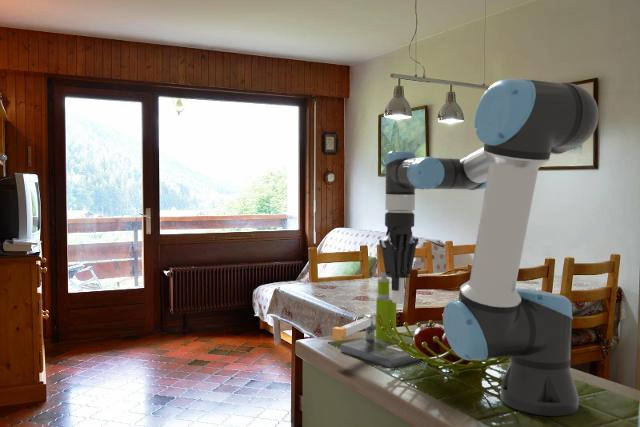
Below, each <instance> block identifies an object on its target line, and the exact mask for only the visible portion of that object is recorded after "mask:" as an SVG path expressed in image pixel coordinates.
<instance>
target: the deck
mask: <svg viewBox="0 0 640 427" xmlns="http://www.w3.org/2000/svg"><path fill="white" fill-rule="evenodd" d="M396 344H397V343H396ZM396 344H394V343H391V342H387V341H384V340H380V339H377V338H376V337H375V329H365V338H363V339H358V340H354V341H350V342H344V343H341V344H340V352H341V353H344V354H347V355H350V356H353V357H356V358H360V359H362V360H364V361H368V362H370V363H374V364H377V365H380V366H383V367H386V368H389V369H391V368H395V367H399V366H403V365H407V364H409V363H413V362H417V361H419V360H418V359H416V358H413V357H411V356H410V355H408V354H407V353H406V352H404V351H403V350H401V348H400V347H398V346H397V345H396Z"/></svg>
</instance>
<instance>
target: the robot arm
mask: <svg viewBox="0 0 640 427" xmlns="http://www.w3.org/2000/svg"><path fill="white" fill-rule="evenodd" d="M599 115H600V114H599V107H598V105H597V102H596V100H595V98H594V96H593V95H592V93H591V92H589V91H588V89H585V88H584V87H582V86H579V85H578V84H575V83H569V82H555V81H545V80H536V79H527V78H525V77H524V78H505V79H500V80H498V81H496V82H494V83H493V84H492V85H490V86H489V87H488V89H487V90H485V92H484V93H483V94H482V96H481V98H480V100H479V102H478V104H477V107H476V110H475V115H474V128H475V134H476V136H477V138H478V140H479V141H480V142H482V143H483V147H481V148H479V149H477V150H476V151H474V152H472V153H470V154H468V155H466V156H465V157H462V158H445V157H444V158H442V157H432V156H419V157H416V154H415V152H414V151H410V150H395V151H394V150H393V151H389V152H387V154H386V159H385V164H384V165H385V168H384V169H385V206H384V207H385V211H387V212H385V213H384V226H385V227H386V228H387V231H386V233H385V237H384V238H383V239H382V238H381V239H379V240H378V243H379V246H380V247H381V252H382V258H383V265H384V272H385V273H386V275H387V277H388V278H391V292H392V294H391V295H392V297H391V298H392V302H394V303H396V304H405V289H406V279H408V278H410V275H411V274H412V271H413V265H414V260H415V253H416V249H417V245H418V243H419V237H415V236H414V235H413V231H412V228H414V226H415V213H414V212H413V211H415V209H416V204H415V203H416V190H469V191H475V190H483V189H484V195H483V200H482V206H481V212H480V217H479V218H480V219H479V224H478V230H477V236H476V241H475V248H474V253H473V259H472V265H471V270H470V271H471V272H470V276H469V280H467V281H466V282H464V283H463V284H461V286H460V288H459V293H458V299H453V300H451V301H449V302H448V303H447V304H446V305H445V307H444V309H443V315H442V324H443V325H442V326H443V330H444V334H445V337H446V339H447V340H446V341H447V343H448V344H449V346H450V348H451V349H452V351H453V352H454V353H455V355H457V356H458V357H459V358H461V359H463V360H466V361H486V360H491V359H492V360H493V359H500V358H509V357H510V358H509V365H508V366H507V367H508V368H507V369H506V373H505V375H504V378H503V380H502V383H501V385H500V400H501V402H502V403H503V404H504V405H506V406H508V407H510V408H512V409H514V410H516V411H519V412H523V413H527V414H532V415H538V416H547V417H548V416H549V417H562V416H567V415H568V416H569V415H572V414H574V413H576V412H577V411H578V410H579V402H580V401H579V399H580V398H579V393H578V392H577V391H578V390H577V388H576V385H575V384H576V383H575V380H574V377H573V374H572V371H571V358H572V357H571V355H572V333H573V332H572V331H573V320H574V317H573V311H572V310H573V308H572V302H571V300H570V299H569V298H567V297H566V295H565V296H564V295H562V294H557V293H554V292H553V293H552V292H548V291H542V290H536V289H530V288H517V281H518V275H519V270H520V265H521V261H522V260H521V259H522V256H523V252H524V251H523V250H524V246H525V240H526V234H527V229H528V224H529V220H530V214H531V209H532V203H533V198H534V194H535V193H534V192H535V188H536V182H537V177H538V171H539V169H540V167H542V166H543V165H544V164H546V163H547V162H549V161H550V157H551V154H553V155H561V154H563V153H566V152H568V151H570V150H573V149H575V148H577V147H579V146H580V145H583V144H584V143H586V142H587V141H588V140H589V139H590V138H591V137H592V135H593V134H594V133H595V131H596V128H597V127H598V123H599V118H600V117H599Z"/></svg>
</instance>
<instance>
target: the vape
mask: <svg viewBox="0 0 640 427" xmlns="http://www.w3.org/2000/svg"><path fill="white" fill-rule="evenodd" d="M377 282H378V283H377V296H376V303H375V304H376V307H375V308H376V314H375V315H376V317H377V315H378V314H379V315H380V316H381V318H382V321H383V323H384V324H385V325H386V327H387V329H388V332H389V333H390V334H391V335H393V336H396V337H397V333H396V334H395V333H394V332H393V330H392V328H391V325H390V320H392V322H393V325H394V327H395V328H396V329H397V303H394V302H392V297H391V296H390V277H388V276H387V275H386V273H385V271H381V272H380V277H378V279H377ZM375 338H377V339H380V340H384V341H387V342H391V343H394V342H393V341H391V339H390V338H389V337H388V336H387V334H386V333H385V332H384V331H383V330H382V329H381V327H380V325H379V323H378V321H377V318H376V329H375ZM394 344H395V343H394Z"/></svg>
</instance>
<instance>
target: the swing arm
mask: <svg viewBox="0 0 640 427" xmlns="http://www.w3.org/2000/svg"><path fill="white" fill-rule="evenodd" d="M364 329H365V330H366V329H374V330H376V314H373V313H365V314H364V317H363V318H360V319H358V320H355V321H352V322H349V323H347V324H345V325H343V326H342V325H341V326H334V327H332V340H338V341H344V340H346V339H347V336H351V335H353V334H355V333H357V332H360V331H362V330H364Z"/></svg>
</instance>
